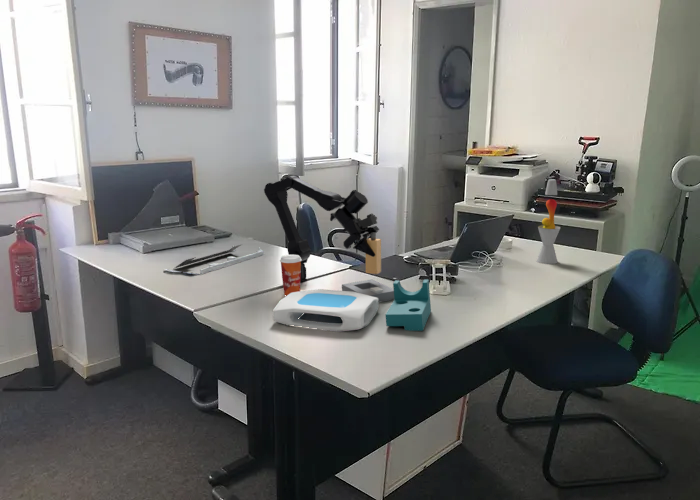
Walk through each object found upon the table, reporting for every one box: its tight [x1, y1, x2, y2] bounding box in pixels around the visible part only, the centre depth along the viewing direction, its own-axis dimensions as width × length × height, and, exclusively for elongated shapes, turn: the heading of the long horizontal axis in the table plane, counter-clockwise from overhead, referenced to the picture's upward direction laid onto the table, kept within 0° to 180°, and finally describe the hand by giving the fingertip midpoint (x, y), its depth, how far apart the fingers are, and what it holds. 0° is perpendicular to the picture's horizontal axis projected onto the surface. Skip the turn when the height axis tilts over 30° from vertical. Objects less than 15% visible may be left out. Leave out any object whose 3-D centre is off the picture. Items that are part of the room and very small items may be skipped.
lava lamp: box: [535, 178, 561, 265], centre depth 241 cm, size 9×9×35 cm
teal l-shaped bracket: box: [385, 279, 432, 332], centre depth 176 cm, size 18×11×10 cm, turn 165°
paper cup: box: [279, 254, 302, 297], centre depth 202 cm, size 8×8×14 cm
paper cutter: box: [164, 244, 265, 276], centre depth 251 cm, size 18×45×6 cm, turn 148°
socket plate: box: [341, 278, 394, 303], centre depth 201 cm, size 13×17×4 cm
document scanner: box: [272, 288, 379, 333], centre depth 179 cm, size 21×28×6 cm
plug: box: [365, 233, 382, 275], centre depth 204 cm, size 4×4×14 cm
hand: (376, 254), depth 204 cm, fingers closed on plug, 4 cm apart
